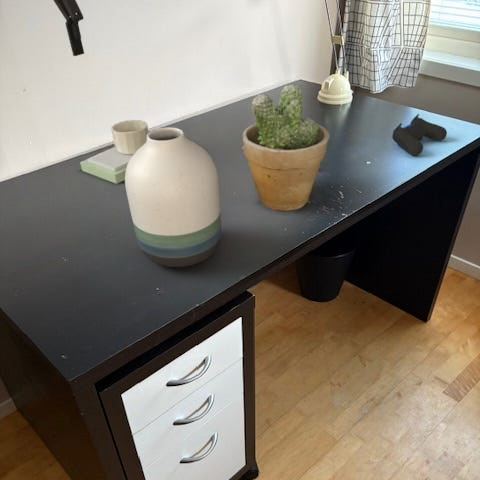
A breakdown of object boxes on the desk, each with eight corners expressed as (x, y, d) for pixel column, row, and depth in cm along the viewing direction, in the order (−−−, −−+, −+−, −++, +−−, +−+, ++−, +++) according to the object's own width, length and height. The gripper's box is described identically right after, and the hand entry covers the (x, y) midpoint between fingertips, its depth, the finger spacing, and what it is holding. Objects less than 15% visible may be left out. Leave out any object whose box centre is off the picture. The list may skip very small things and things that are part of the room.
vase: (135, 237, 102) (111, 123, 86) (212, 224, 105) (202, 111, 89) (146, 283, 90) (120, 160, 74) (232, 266, 93) (225, 145, 77)
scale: (82, 170, 128) (79, 159, 126) (151, 139, 143) (149, 128, 141) (116, 184, 121) (114, 172, 119) (185, 149, 136) (184, 138, 134)
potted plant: (259, 177, 121) (258, 70, 104) (331, 187, 116) (342, 76, 99) (233, 212, 109) (227, 97, 92) (312, 224, 103) (321, 104, 86)
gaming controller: (437, 146, 137) (414, 121, 138) (452, 131, 132) (428, 106, 133) (407, 165, 129) (382, 138, 130) (421, 150, 124) (395, 122, 125)
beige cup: (109, 150, 130) (104, 128, 126) (134, 139, 135) (130, 117, 131) (132, 158, 125) (128, 135, 121) (157, 146, 131) (154, 124, 126)
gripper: (83, -60, 99) (106, 54, 113) (16, -61, 111) (44, 42, 125) (53, -57, 95) (81, 61, 109) (-14, -58, 107) (19, 48, 121)
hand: (61, 51), depth 117 cm, fingers open, 13 cm apart
